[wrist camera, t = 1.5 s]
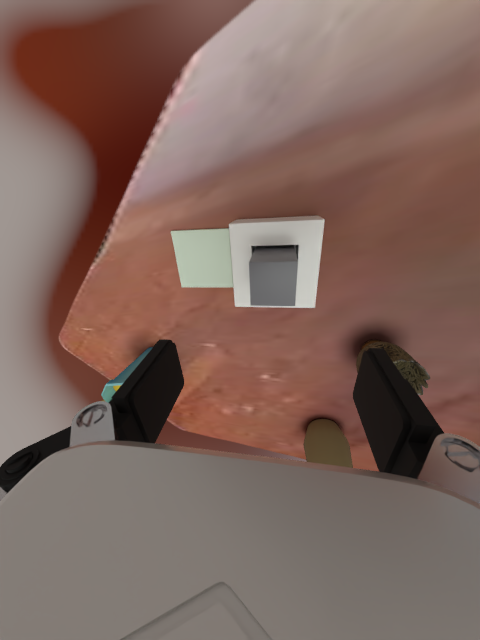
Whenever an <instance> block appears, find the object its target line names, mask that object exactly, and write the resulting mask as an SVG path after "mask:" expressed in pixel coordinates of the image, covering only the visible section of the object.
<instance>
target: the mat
mask: <svg viewBox="0 0 480 640" xmlns="http://www.w3.org/2000/svg"><path fill="white" fill-rule="evenodd" d="M171 234H172V240H173V245H174V250H175V255H176V260H177V265H178V271H179V276H180V281H181V286H182V287H234V286H233V273H232V260H231V246H230V233H229V228H222V229H199V230H176V231H171Z"/></svg>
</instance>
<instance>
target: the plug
mask: <svg viewBox="0 0 480 640" xmlns="http://www.w3.org/2000/svg"><path fill="white" fill-rule="evenodd" d="M297 270H298V259H297V255H296V251H295V247H294V245H268V246H256V248H255V251H254V253H253V255H252V257H251V259H250V261H249V278H250V303H251V305H252V306H295V300H296V285H297Z"/></svg>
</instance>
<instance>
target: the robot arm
mask: <svg viewBox="0 0 480 640" xmlns="http://www.w3.org/2000/svg"><path fill="white" fill-rule="evenodd" d="M183 386H184V378H183V374H182V370H181V366H180V361H179V357H178V353H177V349H176V345H175V343H173V342H172V341H171V340H159V341H158V342H157V343H156V344H155V346H154V347H153V348H152V349H151V350H150V352H149V353H148V354H147V355H146V356H145V358H144V359H143V360H142V361H141V362H140V364H139V365H138V366H137V367H136V368H135V370H134V371H133V372H132V373H131V374H130V376H129V377H128V378H127V379H126V380H125V382H124V383H123V384H122V385H121V386H120V388H119V389H118V390H117V391H116V392H115V394H114V395H113V396H112V397H111V398H112V399H111V401H110V402H109V403H108V402H104V401H100V402H95V403H92V404H90V405H88V406H86V407H84V408H83V409H82V410H80V411H79V412H78V413H77V414H76V415H75V417H74V419H73V421H72V424H71V426H70V427H68V428H66V429H64V430H62V431H60V432H58V433H56V434H54V435H51V436H49V437H47V438H45V439H43V440H41V441H39V442H37V443H34V444H32V445H30V446H28V447H26V448H24V449H22V450H20V451H18V452H17V453H15V454H14V455H12V456H11V457H10V458H9V459H7V460H6V461H5V462H4V463H3V464H2V466H1V467H0V640H480V447H479V446H478V445H476V444H475V443H473V442H471V441H470V440H468V439H466V438H463V437H461V436H458V435H454V434H446V433H444V432H443V431H442V429H441V428H440V426H439V425H438V423H437V422H436V421H435V419H434V418H433V416H432V415H431V413H430V412H429V410H428V409H427V407H426V406H425V404H424V403H423V402H422V400H421V399H420V397H419V396H418V394H417V393H416V391H415V390H414V388H413V387H412V385H411V384H410V383H409V381H408V380H406V379H405V378H403V376H402V375H401V373H400V372H399V370H398V369H397V367H396V366H395V364H394V363H393V361H392V360H391V358H390V357H389V355H388V354H387V352H386V351H385V350H384V349H383V348H368V350H367V351H364V352H363V355H362V359H361V363H360V367H359V371H358V375H357V379H356V383H355V387H354V391H353V399H354V402H355V405H356V408H357V411H358V413H359V416H360V419H361V422H362V425H363V427H364V430H365V433H366V436H367V439H368V441H369V444H370V447H371V450H372V453H373V456H374V458H375V461H376V464H377V467H378V469H379V471H380V472H377V471H370V470H363V469H356V468H349V467H343V466H335V465H327V464H319V463H311V462H303V461H295V460H287V459H280V458H272V457H264V456H256V455H248V454H240V453H231V452H223V451H214V450H207V449H198V448H189V447H181V446H172V445H163V444H154V443H155V442H156V439H157V438H158V436H159V434H160V432H161V430H162V428H163V426H164V424H165V422H166V420H167V418H168V416H169V414H170V412H171V410H172V408H173V406H174V404H175V402H176V400H177V398H178V396H179V394H180V392H181V390H182V388H183Z"/></svg>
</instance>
